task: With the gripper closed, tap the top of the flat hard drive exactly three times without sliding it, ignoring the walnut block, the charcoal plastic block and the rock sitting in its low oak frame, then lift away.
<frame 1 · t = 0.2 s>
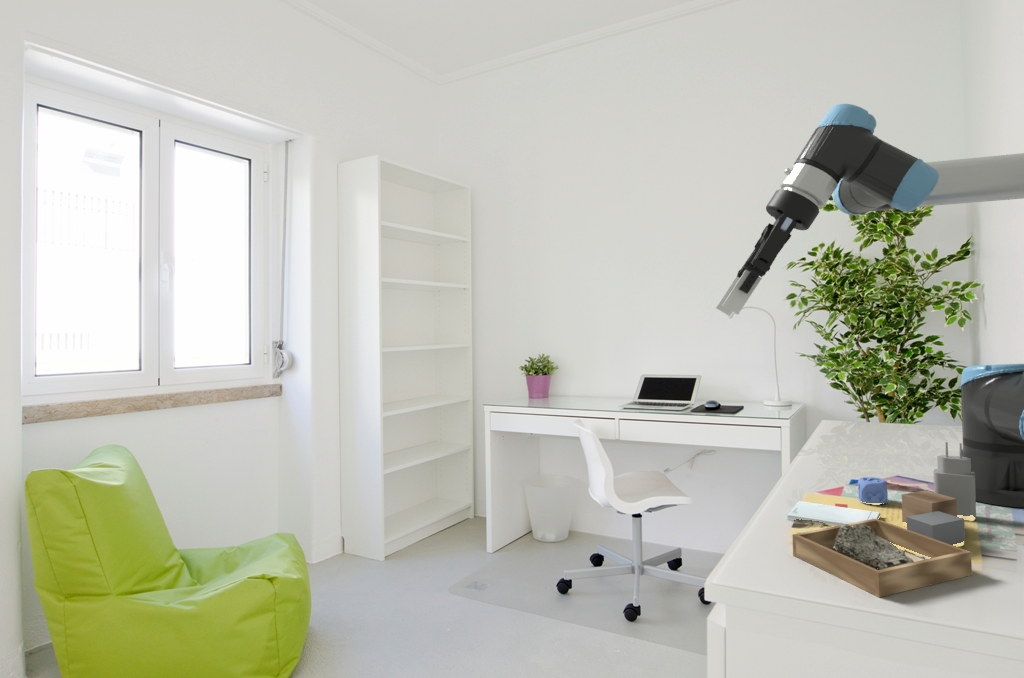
hand: (725, 311, 104), 35 cm above the table, tool tilted 35°, fingers open, 13 cm apart
charcoal block: (935, 545, 90), on the table
walnut block: (929, 528, 96), on the table
rock sample: (879, 568, 84), resting in oak frame
power adapter: (955, 517, 101), on the table
oak frame: (877, 564, 84), on the table
decorative dice: (872, 503, 110), on the table
hard drive: (833, 523, 102), on the table
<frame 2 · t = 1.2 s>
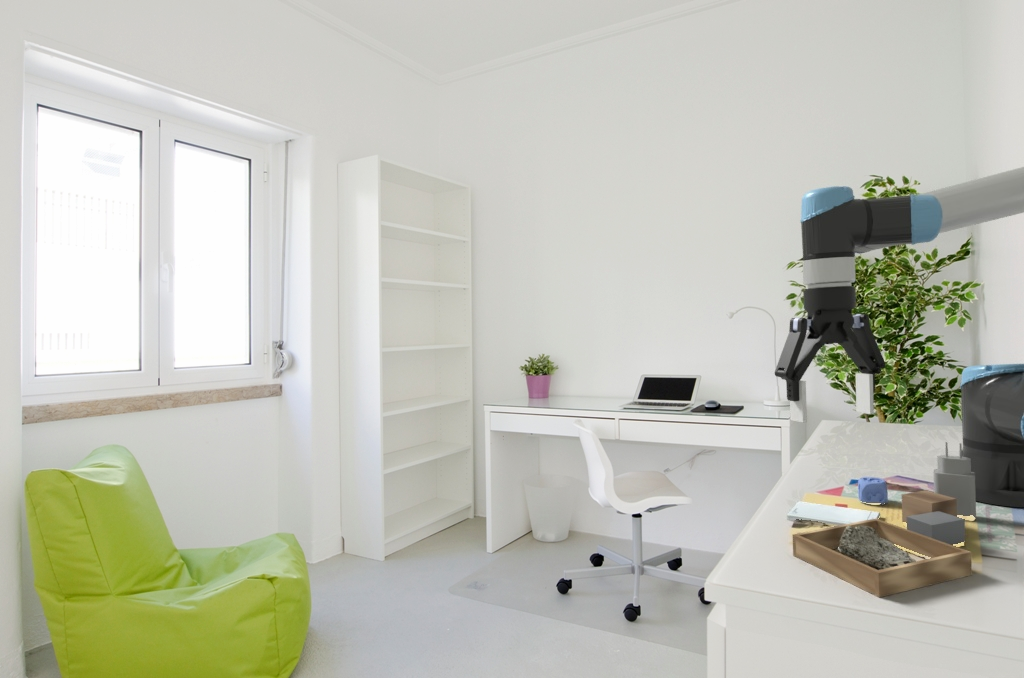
hand: (832, 417, 101), 17 cm above the table, tool pointing down, fingers open, 13 cm apart
nothing on the table moved.
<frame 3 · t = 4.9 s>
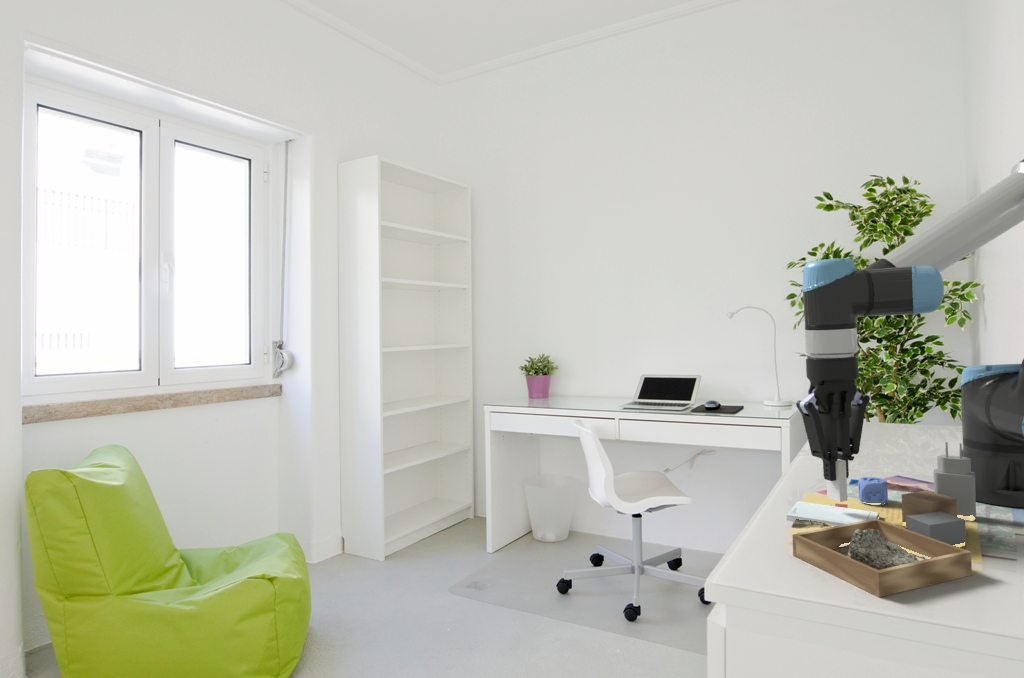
hand: (837, 498, 102), 3 cm above the table, tool pointing down, fingers closed
rock sample: (891, 573, 82), resting in oak frame
everything else where it was.
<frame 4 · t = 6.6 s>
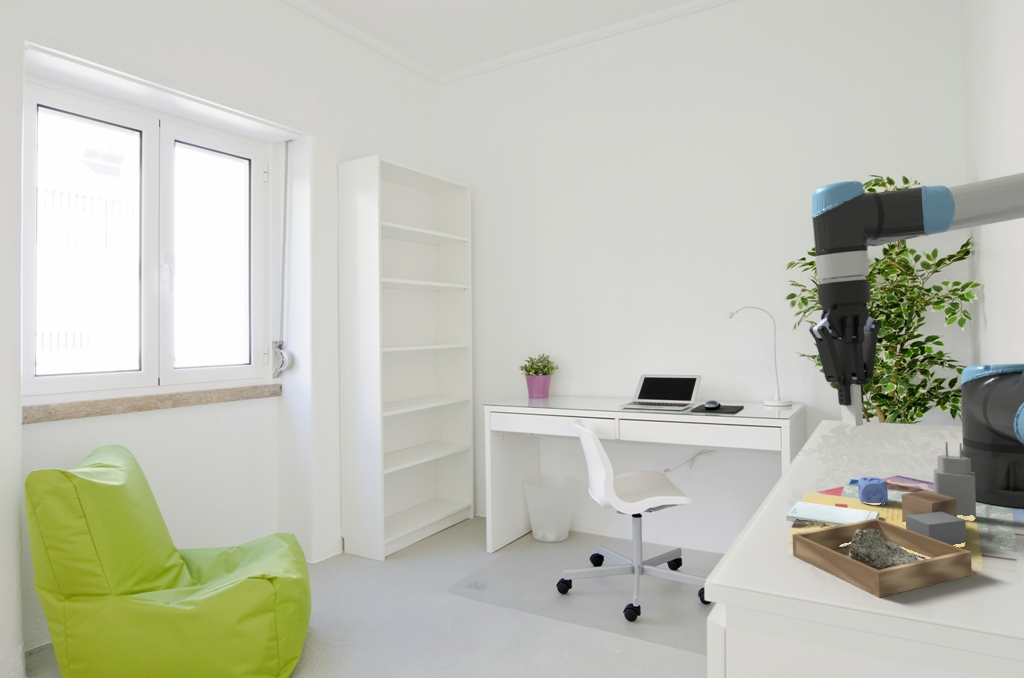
hand: (852, 424, 102), 15 cm above the table, tool pointing down, fingers closed
rock sample: (892, 573, 82), resting in oak frame
everything else where it was.
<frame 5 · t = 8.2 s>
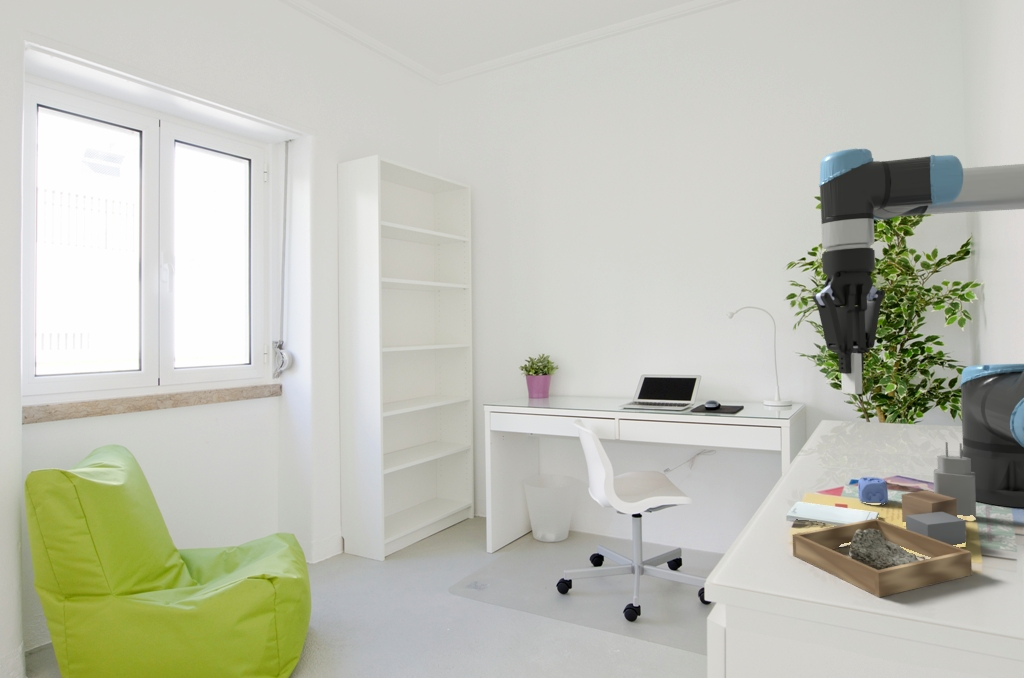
hand: (852, 392, 102), 20 cm above the table, tool pointing down, fingers closed
rock sample: (892, 573, 82), resting in oak frame
everything else where it was.
at the end: hard drive moved 0.8 cm from its start; hard drive tilted 1°; the gripper is holding nothing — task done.
